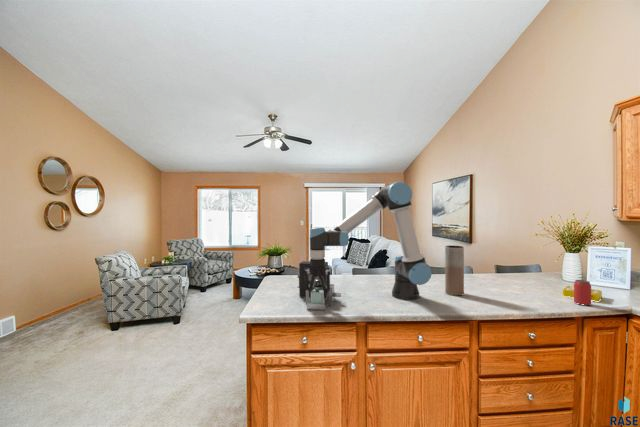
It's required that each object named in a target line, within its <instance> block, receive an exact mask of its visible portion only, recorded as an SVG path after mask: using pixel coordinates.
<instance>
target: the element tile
mask: <svg viewBox="0 0 640 427" xmlns="http://www.w3.org/2000/svg"><path fill="white" fill-rule="evenodd" d="M563 295H564V296H570V297H574V285H573V286H572V285H568V286H566V287H564V288H562V296H563ZM601 297H602V298H603V291H602V290H599V289H593V288H591V300H595V301H599V300H600V299H601ZM601 300H602V299H601Z"/></svg>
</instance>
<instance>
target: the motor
mask: <svg viewBox="0 0 640 427" xmlns="http://www.w3.org/2000/svg"><path fill="white" fill-rule="evenodd" d="M325 285H326V288H327V284H325ZM309 287H310V283H309ZM315 288H319V289H320V290H323V287H322V283H321V279H314V283H313V287H312V290H314V289H315ZM326 295H327V297H326V298H324V304H317V303H311V298H309V291H308V290H306V297H305V305H306V310H307V311H308V310H309V311H323V312H324V311H326V309H327V307H328V306H333V305H334V303H335V298H342V292H335V284H334V283H330V290H329V291H327V292H326Z"/></svg>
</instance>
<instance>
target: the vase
mask: <svg viewBox="0 0 640 427" xmlns="http://www.w3.org/2000/svg"><path fill="white" fill-rule="evenodd" d="M444 248H445V249H444V252H445V254H444V255H445V256H444V262H445V264H444V265H445V266H444V274H445V275H444V276H445V277H444V282H445V283H444V284H445V287H444V288H445V289H444V290H445V294H447V293H448V294H447V295H449V294H453V295H452V296H454V295H461V296H463V295H462V294H464V295H465V279H464V277H465V267H464V266H465V248H464V246H462V245H445V246H444Z"/></svg>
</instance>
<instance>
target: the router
mask: <svg viewBox="0 0 640 427" xmlns="http://www.w3.org/2000/svg"><path fill="white" fill-rule="evenodd" d="M298 265H299V267H298V270H299V271H298V272H299V273H298V274H297V277H296V278H298V286H297V287H296V288H298V289H299V291H298V292H299V294H298V295H299V296H298V297H303V298H304V297H305V298H306V290H305V273H304V271H305V270H308V269H309V268H310V260H309V261H308V260H305V261H304V260H303V261H301V262H299V264H298ZM330 267H331V265H329V262H328V261H325V268H326V270H330ZM323 277H324V281H325V284H327V274H326V272H325V273H324V274H323ZM311 279H312V274H311V272H310V271H309V283H311ZM315 279H320V277H315Z"/></svg>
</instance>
